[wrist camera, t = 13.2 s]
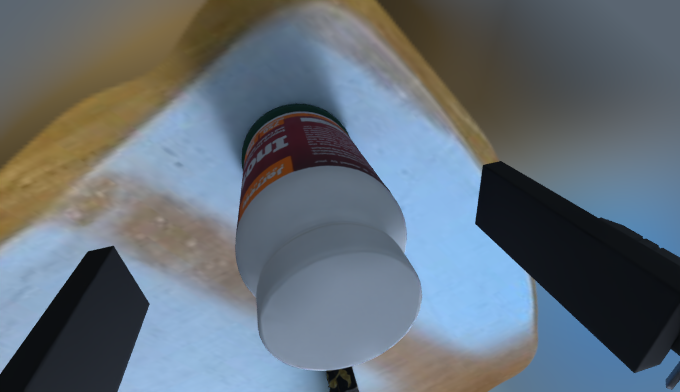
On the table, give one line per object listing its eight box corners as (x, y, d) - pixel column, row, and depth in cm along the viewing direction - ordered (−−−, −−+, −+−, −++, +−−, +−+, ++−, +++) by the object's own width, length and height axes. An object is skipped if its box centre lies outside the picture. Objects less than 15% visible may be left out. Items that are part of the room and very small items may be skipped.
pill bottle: (260, 92, 16) (263, 194, 6) (368, 128, 18) (490, 244, 9) (232, 198, 18) (204, 387, 9) (331, 218, 20) (394, 388, 11)
